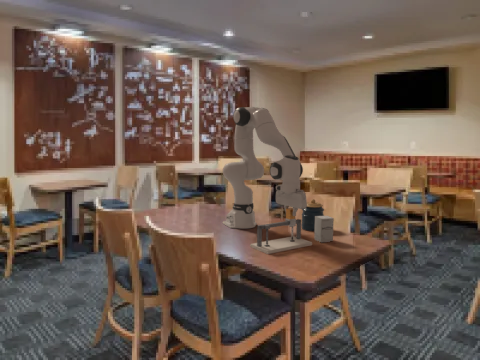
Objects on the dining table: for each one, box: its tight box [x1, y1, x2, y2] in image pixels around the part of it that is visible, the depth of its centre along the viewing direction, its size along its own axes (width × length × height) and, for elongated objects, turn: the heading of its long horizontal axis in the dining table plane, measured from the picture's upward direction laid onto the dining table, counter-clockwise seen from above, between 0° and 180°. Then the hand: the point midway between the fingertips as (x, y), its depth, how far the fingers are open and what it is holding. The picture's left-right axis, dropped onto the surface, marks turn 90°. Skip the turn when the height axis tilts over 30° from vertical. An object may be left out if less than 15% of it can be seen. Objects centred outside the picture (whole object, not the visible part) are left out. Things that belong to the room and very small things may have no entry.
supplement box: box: [313, 215, 335, 243], centre depth 207 cm, size 7×7×13 cm
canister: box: [301, 198, 325, 232], centre depth 233 cm, size 13×13×18 cm
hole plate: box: [249, 218, 313, 255], centre depth 197 cm, size 14×28×12 cm, turn 123°
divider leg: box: [284, 207, 297, 240], centre depth 201 cm, size 4×4×16 cm
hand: (290, 215), depth 201 cm, fingers closed on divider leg, 3 cm apart
